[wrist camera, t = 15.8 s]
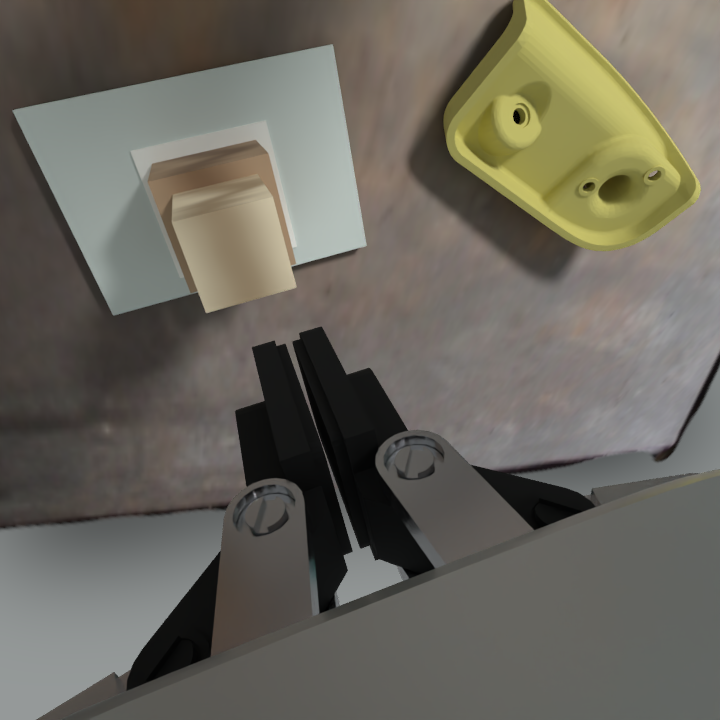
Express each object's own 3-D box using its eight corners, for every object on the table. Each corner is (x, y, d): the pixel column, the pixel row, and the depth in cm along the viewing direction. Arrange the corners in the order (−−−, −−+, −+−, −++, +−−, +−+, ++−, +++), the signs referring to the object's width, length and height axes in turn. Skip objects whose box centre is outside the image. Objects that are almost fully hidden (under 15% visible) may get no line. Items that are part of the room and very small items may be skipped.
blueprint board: (329, 44, 34) (333, 44, 33) (362, 242, 42) (367, 246, 41) (16, 108, 31) (11, 110, 30) (114, 310, 39) (113, 316, 38)
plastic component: (431, 143, 37) (543, 8, 31) (425, 98, 42) (519, -27, 36) (605, 268, 46) (721, 183, 39) (583, 219, 51) (683, 136, 44)
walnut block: (255, 139, 35) (268, 153, 30) (281, 237, 39) (296, 264, 34) (151, 163, 34) (147, 182, 29) (188, 262, 37) (190, 293, 32)
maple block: (257, 174, 30) (273, 196, 25) (278, 253, 33) (296, 287, 28) (172, 194, 29) (171, 222, 24) (201, 274, 32) (206, 313, 27)
